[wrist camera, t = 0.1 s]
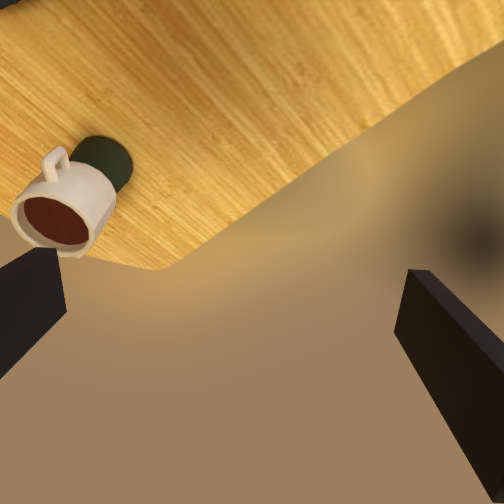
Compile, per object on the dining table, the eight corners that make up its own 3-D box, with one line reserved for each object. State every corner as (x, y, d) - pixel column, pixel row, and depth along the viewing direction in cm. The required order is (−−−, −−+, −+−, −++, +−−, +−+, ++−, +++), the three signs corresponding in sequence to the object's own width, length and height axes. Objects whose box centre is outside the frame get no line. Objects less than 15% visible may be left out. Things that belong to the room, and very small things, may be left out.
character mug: (61, 109, 37) (-16, 167, 27) (129, 114, 37) (76, 174, 27) (87, 198, 44) (33, 270, 35) (143, 202, 44) (106, 275, 35)
